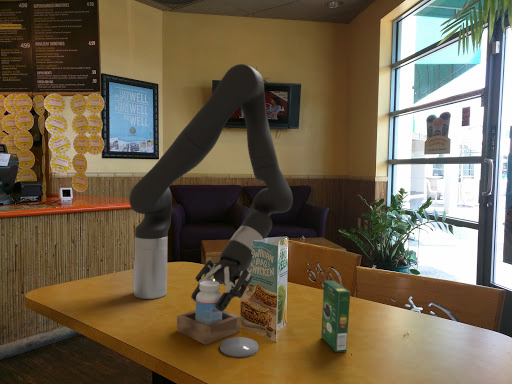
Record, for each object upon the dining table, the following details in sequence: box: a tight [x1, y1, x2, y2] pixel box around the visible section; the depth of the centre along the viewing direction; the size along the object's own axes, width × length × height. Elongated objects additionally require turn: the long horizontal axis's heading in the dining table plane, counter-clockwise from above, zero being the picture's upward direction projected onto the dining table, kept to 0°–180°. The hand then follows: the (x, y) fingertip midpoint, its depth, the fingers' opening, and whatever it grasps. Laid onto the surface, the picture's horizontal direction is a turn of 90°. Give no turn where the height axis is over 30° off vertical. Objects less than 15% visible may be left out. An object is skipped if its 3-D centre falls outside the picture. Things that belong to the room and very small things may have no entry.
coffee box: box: [320, 280, 351, 353], centre depth 84 cm, size 8×3×13 cm, turn 13°
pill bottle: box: [195, 281, 223, 326], centre depth 89 cm, size 6×6×11 cm
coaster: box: [219, 336, 259, 358], centre depth 81 cm, size 8×8×1 cm
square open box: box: [176, 309, 241, 346], centre depth 89 cm, size 10×10×4 cm
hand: (205, 304), depth 88 cm, fingers open, 8 cm apart
